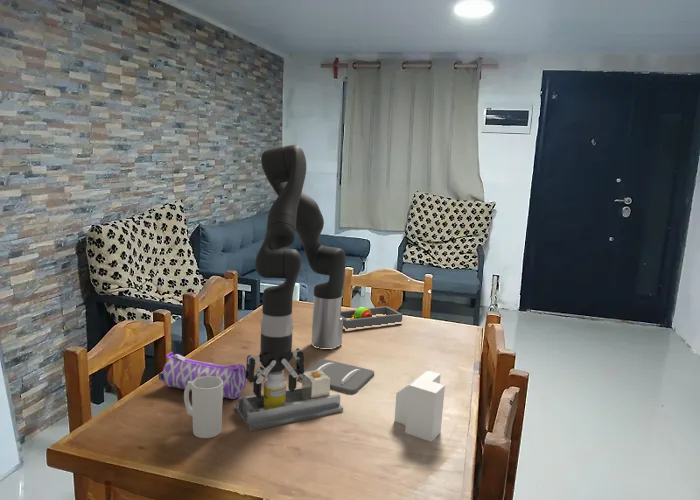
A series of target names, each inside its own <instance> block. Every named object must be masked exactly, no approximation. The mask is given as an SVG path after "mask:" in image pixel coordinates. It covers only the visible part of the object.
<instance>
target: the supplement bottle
mask: <svg viewBox="0 0 700 500" xmlns="http://www.w3.org/2000/svg"><path fill="white" fill-rule="evenodd" d="M286 389H287V380H286V379H285V378H284V370H283V371H275V372H272V373H271V372H269V373H268V374H267V376H266V379H265V380H264V382H263V393H264V408H269V407H274V406H279V405H284V404H286Z"/></svg>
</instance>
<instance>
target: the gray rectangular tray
mask: <svg viewBox="0 0 700 500" xmlns="http://www.w3.org/2000/svg"><path fill="white" fill-rule="evenodd" d="M368 309H369V310H370V311H371V313H372V315H376V314H386V315H385V316H376V317H368V318H359V319H351V320H347V319H346V318H352V315H354V312H355V311H356V309H349V310H341V318H342V319H343V326H344V327H345V328H346V329H348V328H356V327H364V326H372V325H381V324H388V323H395V322H401V321H402V322H403V313H401V312H398V311H397V310H396V309H394V308H391V307H390V306H387V305H386V306H377V307H368Z"/></svg>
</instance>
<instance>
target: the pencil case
mask: <svg viewBox="0 0 700 500" xmlns="http://www.w3.org/2000/svg"><path fill="white" fill-rule="evenodd" d="M165 356H166V358H167V359H168V360H167V361H166V363H165V364H164V366H163V369H162V372H158V375H157V376H158V380H159V381H163V383H164V385H165V386H166V387H168V388H176V389H180V390H184V391H185V388H186V386H187V382H188V381H191V382H192V381H193V380H195V379H196V378H199V377H203V376H215V377H219V378H221V379H222V380H223V398H227V399H233V400H235V399H238V398H240V396H241V394H242V393H243V391H245V390H244V389H245V387H246V384H247V379H246V367H245V365H243V363H238V364H231V365H222V364H216V363H211V362H207V361H206V362H205V361H199V360H196V359H190V358H186V357H184V356H183V355H181V354H179V353H175V354H174V352H173V351H171V352H169V353H167V354H166V355H165ZM189 392H191V393H192V389H191V390H190V391H189Z"/></svg>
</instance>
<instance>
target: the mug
mask: <svg viewBox="0 0 700 500" xmlns="http://www.w3.org/2000/svg"><path fill="white" fill-rule="evenodd" d="M191 389H192V392H191V391H190V390H191ZM190 392H191V402H190V399H189V398H190V397H189V396H190ZM223 399H224V397H223V380H222V379H221V378H219V377H215V376H203V377H199V378H196V379H195V380H193V381H192V382H191V381H188V382H187V386H186V388H185V390H184V392H183V400H184V405H185V409H186V413H187V416H191V417H192V433H193V435H194V436H195V437H196V438H200V439H211V438H214V437H217V436H219V434H221V432H222V424H223V423H222V420H223Z"/></svg>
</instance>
